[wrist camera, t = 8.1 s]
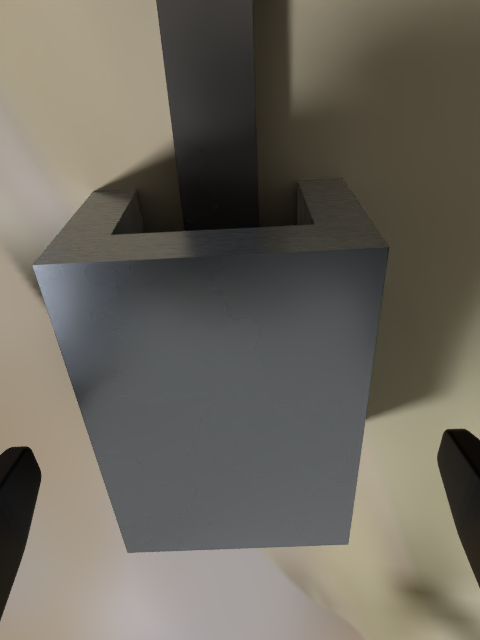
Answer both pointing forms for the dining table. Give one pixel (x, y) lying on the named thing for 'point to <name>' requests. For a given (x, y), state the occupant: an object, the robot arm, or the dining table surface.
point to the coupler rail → (212, 109)
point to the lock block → (221, 367)
